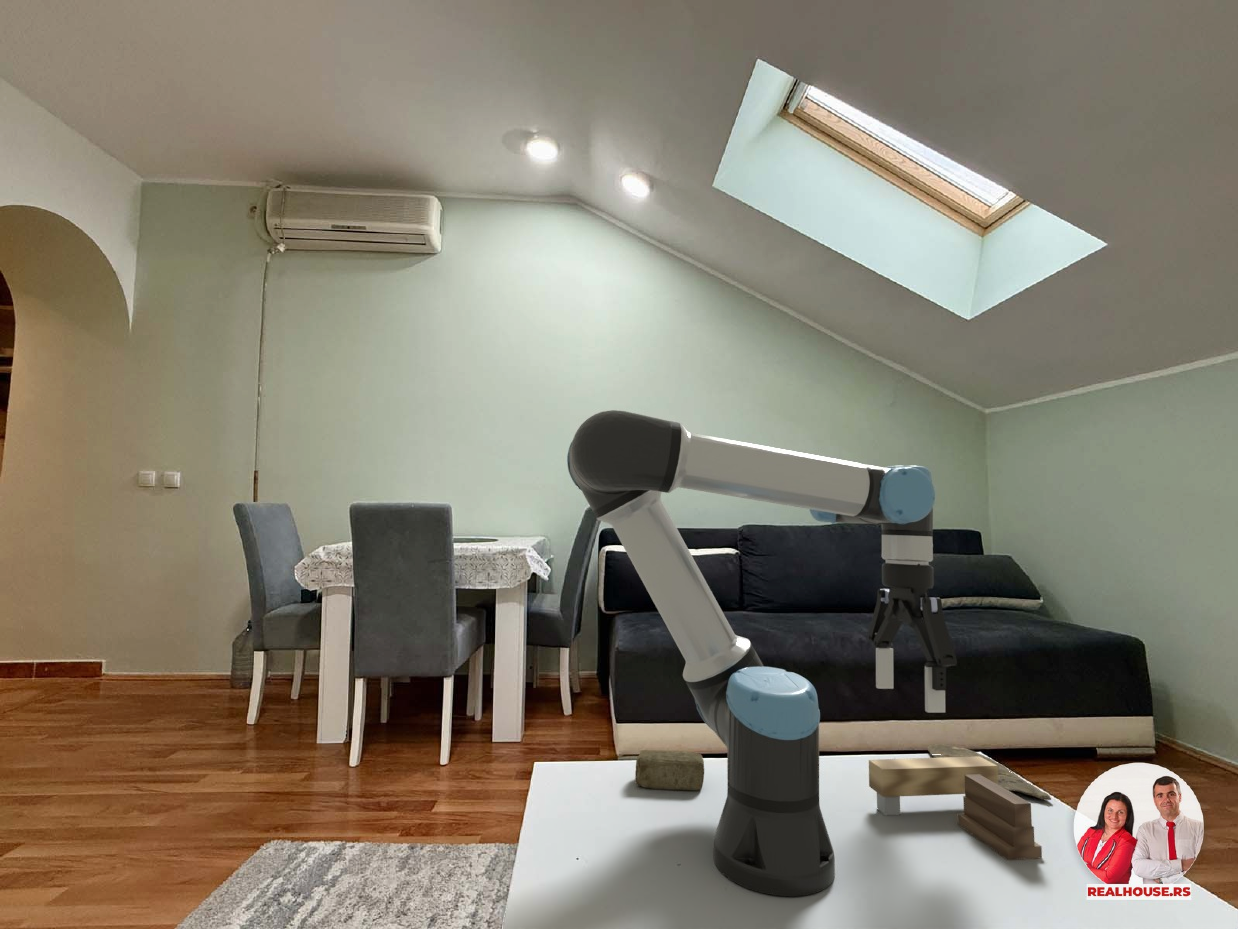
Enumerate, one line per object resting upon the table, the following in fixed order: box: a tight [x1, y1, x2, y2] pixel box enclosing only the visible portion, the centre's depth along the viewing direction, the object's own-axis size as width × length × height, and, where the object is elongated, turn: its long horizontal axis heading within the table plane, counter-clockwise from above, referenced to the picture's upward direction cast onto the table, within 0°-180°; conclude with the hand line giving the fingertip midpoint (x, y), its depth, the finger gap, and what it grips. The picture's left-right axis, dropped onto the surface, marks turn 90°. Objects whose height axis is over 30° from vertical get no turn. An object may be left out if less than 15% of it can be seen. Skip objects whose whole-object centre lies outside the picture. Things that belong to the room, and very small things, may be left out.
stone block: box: [634, 749, 705, 791], centre depth 107 cm, size 6×12×5 cm, turn 86°
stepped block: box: [957, 774, 1043, 861], centre depth 90 cm, size 5×10×7 cm, turn 8°
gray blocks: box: [876, 792, 901, 816], centre depth 99 cm, size 17×2×3 cm, turn 97°
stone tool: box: [927, 743, 1052, 801], centre depth 114 cm, size 11×3×25 cm
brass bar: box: [868, 756, 998, 797], centre depth 99 cm, size 19×4×4 cm, turn 97°
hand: (908, 699), depth 100 cm, fingers open, 13 cm apart
